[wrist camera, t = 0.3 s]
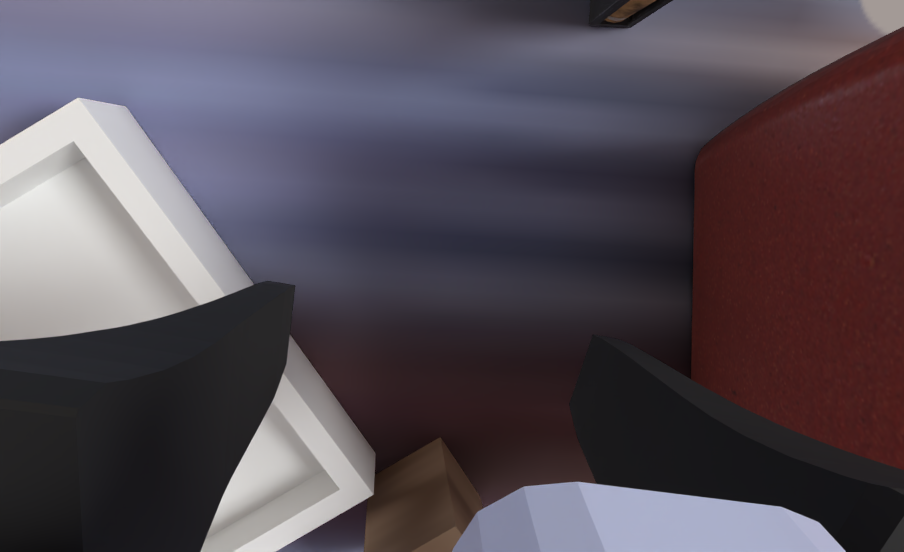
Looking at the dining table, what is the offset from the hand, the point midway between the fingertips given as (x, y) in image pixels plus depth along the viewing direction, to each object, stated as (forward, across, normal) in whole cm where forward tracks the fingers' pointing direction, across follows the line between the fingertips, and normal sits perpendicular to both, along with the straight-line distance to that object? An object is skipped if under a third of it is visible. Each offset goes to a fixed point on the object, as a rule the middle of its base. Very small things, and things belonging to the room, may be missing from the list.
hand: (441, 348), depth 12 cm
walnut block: (+9, -2, +12) cm, 15 cm away
